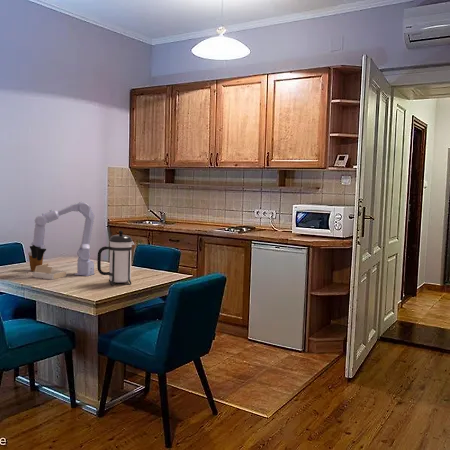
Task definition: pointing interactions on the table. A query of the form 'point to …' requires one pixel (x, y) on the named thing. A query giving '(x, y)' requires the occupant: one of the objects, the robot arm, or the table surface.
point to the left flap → (44, 269)
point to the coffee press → (118, 259)
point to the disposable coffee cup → (34, 262)
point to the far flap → (41, 265)
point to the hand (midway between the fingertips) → (36, 259)
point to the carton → (50, 274)
